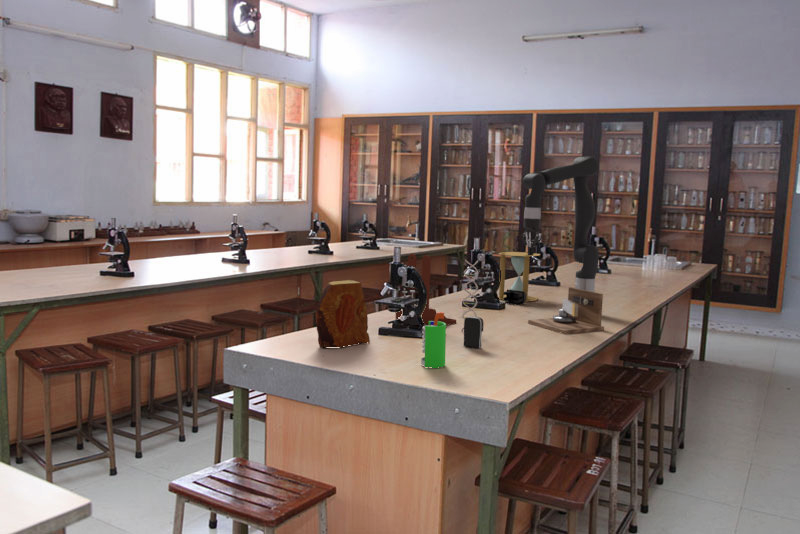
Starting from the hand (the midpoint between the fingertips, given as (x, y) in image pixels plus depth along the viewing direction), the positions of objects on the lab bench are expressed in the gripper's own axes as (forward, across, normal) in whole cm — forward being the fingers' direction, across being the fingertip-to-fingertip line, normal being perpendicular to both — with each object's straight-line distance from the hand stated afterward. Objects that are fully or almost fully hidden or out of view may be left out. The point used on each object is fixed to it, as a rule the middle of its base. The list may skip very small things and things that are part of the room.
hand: (530, 255), depth 325 cm
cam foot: (+27, -25, -3) cm, 37 cm away
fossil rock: (+29, -22, +103) cm, 109 cm away
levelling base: (+29, -24, -2) cm, 38 cm away
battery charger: (+29, -42, +58) cm, 77 cm away
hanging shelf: (+29, +9, +50) cm, 58 cm away
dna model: (+29, -19, +45) cm, 57 cm away
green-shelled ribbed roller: (+29, -60, +86) cm, 109 cm away
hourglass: (+29, +46, -29) cm, 62 cm away
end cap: (+29, +35, -19) cm, 49 cm away
